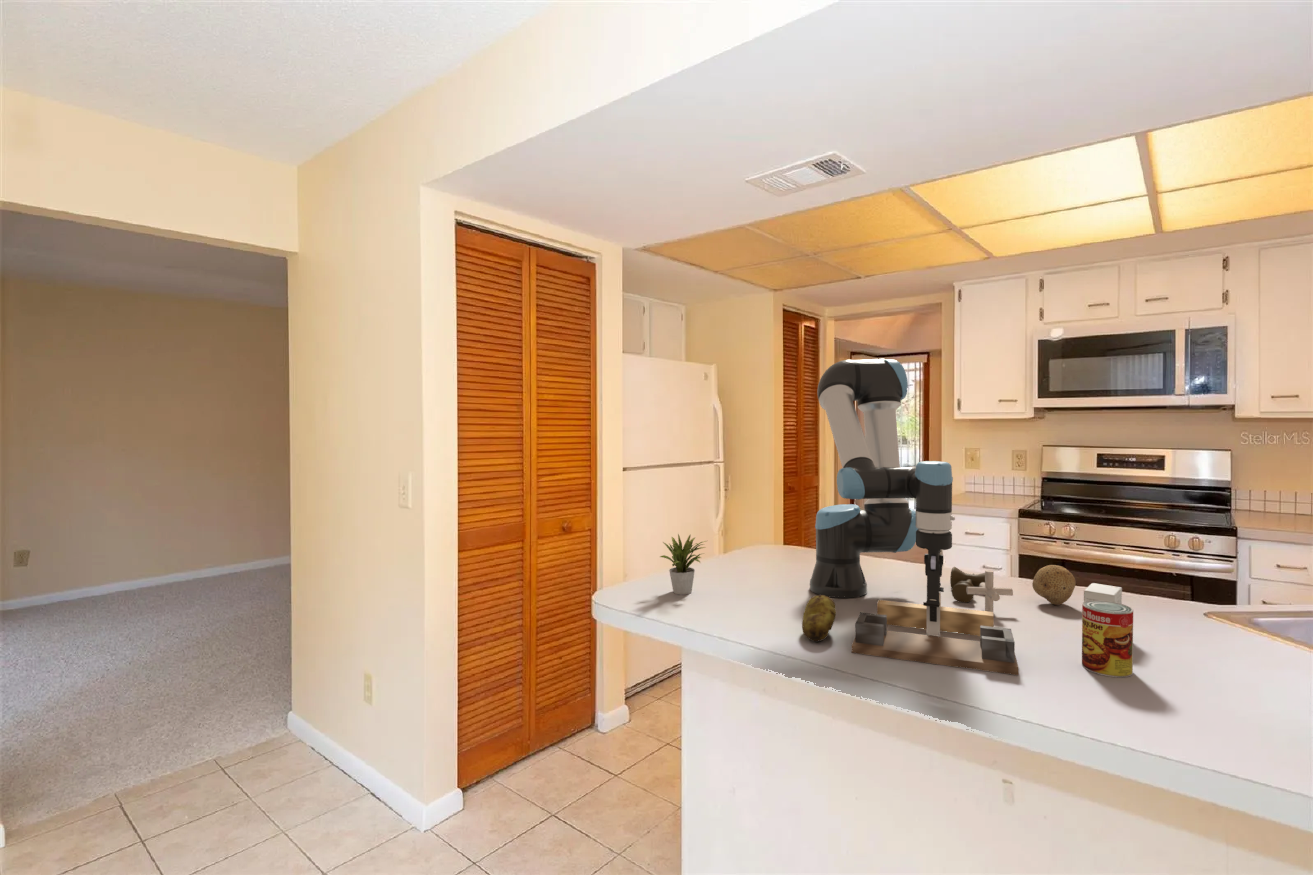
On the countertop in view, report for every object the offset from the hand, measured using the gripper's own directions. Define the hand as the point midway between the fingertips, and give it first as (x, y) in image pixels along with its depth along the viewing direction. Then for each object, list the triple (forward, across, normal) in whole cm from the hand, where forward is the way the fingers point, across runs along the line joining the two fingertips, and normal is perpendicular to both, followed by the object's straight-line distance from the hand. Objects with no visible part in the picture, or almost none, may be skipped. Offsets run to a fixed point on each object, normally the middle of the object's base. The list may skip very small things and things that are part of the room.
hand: (933, 627), depth 145 cm
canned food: (0, -12, -30) cm, 33 cm away
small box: (0, +8, -33) cm, 34 cm away
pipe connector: (0, +17, -12) cm, 21 cm away
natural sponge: (0, +29, -27) cm, 40 cm away
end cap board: (0, -16, 0) cm, 16 cm away
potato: (0, -14, +23) cm, 27 cm away
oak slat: (+1, 0, 0) cm, 1 cm away
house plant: (0, +5, +64) cm, 64 cm away
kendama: (+1, +33, -8) cm, 34 cm away
